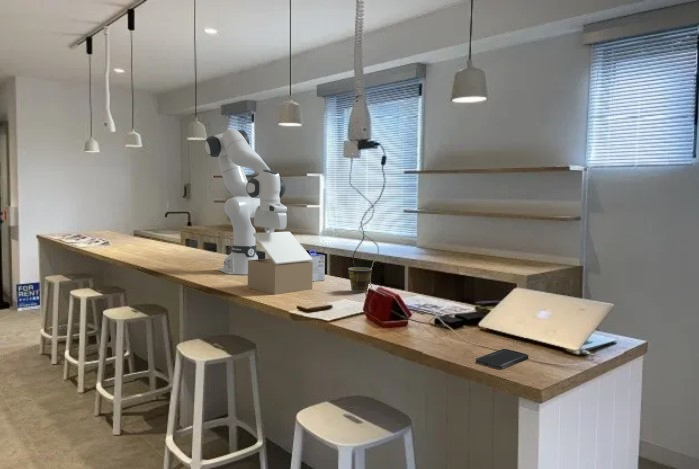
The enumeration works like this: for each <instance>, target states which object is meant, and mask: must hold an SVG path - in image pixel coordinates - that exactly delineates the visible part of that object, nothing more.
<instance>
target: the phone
mask: <svg viewBox="0 0 699 469" xmlns="http://www.w3.org/2000/svg"><path fill="white" fill-rule="evenodd" d="M528 359H529V354H528V353H525V352H524V353H523V352H520V351H516V350H512V349H507V348H502V349H498V350H495V351H494V352H491V353H488V354H486V355H482V356H479V357H477V358H475V363H476V362H477V363H476V364H480V365H482V364H483V365H482V366H486V367H489V366H490V368H493V369H497V370H503V369H506V368H509V367H511V366H513V365H516V364H519V363H521V362H523V361H525V360H528Z"/></svg>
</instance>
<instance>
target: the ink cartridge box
mask: <svg viewBox="0 0 699 469" xmlns="http://www.w3.org/2000/svg"><path fill="white" fill-rule="evenodd" d="M308 254H309V255H310V256H311V258H312V259H313V260H312V261H310V262H313V272H312V282H319V281H325V276H326V275H325V268H326V267H325V266H326V264H325V263H326V261H325V258H326V256H325V254H320V253H317V251H316V249H308Z"/></svg>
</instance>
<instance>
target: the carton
mask: <svg viewBox="0 0 699 469" xmlns="http://www.w3.org/2000/svg"><path fill="white" fill-rule="evenodd" d="M312 272H313V262H310V261H306V262H295V263H285V264H275V263H274V262H273V260H272V259H271V258H270V257H268V258H258V259H257V260H248V274H247V288H248V287H249V288H248V289H252V290H256V291H259V292H263V293H268V294H272V295H280V294H288V293H296V292H302V291H308V290H309V291H310V290H313V281H312Z"/></svg>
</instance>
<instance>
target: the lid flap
mask: <svg viewBox="0 0 699 469" xmlns="http://www.w3.org/2000/svg"><path fill="white" fill-rule="evenodd" d="M253 236H254V237H255V238H256V242H258V244H259V245H260V246H261V247H262V249H263V250H264V251H265V253H266V254H267V255H268V256H269V258H271V259H272V260H273V262H274V263H275V264H285V263H295V262H306V261H312V260H313V259H312V258H311V256H310V254H309V252H307V250H306V249H305V248H304V247H303V245H302V244H301V243H300V242H299V241H298V240H297V239H296V237H295V236H294V235H293V233H291V231H276V232H275V231H274V232H269V233H266V232H256V233H253Z"/></svg>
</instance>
